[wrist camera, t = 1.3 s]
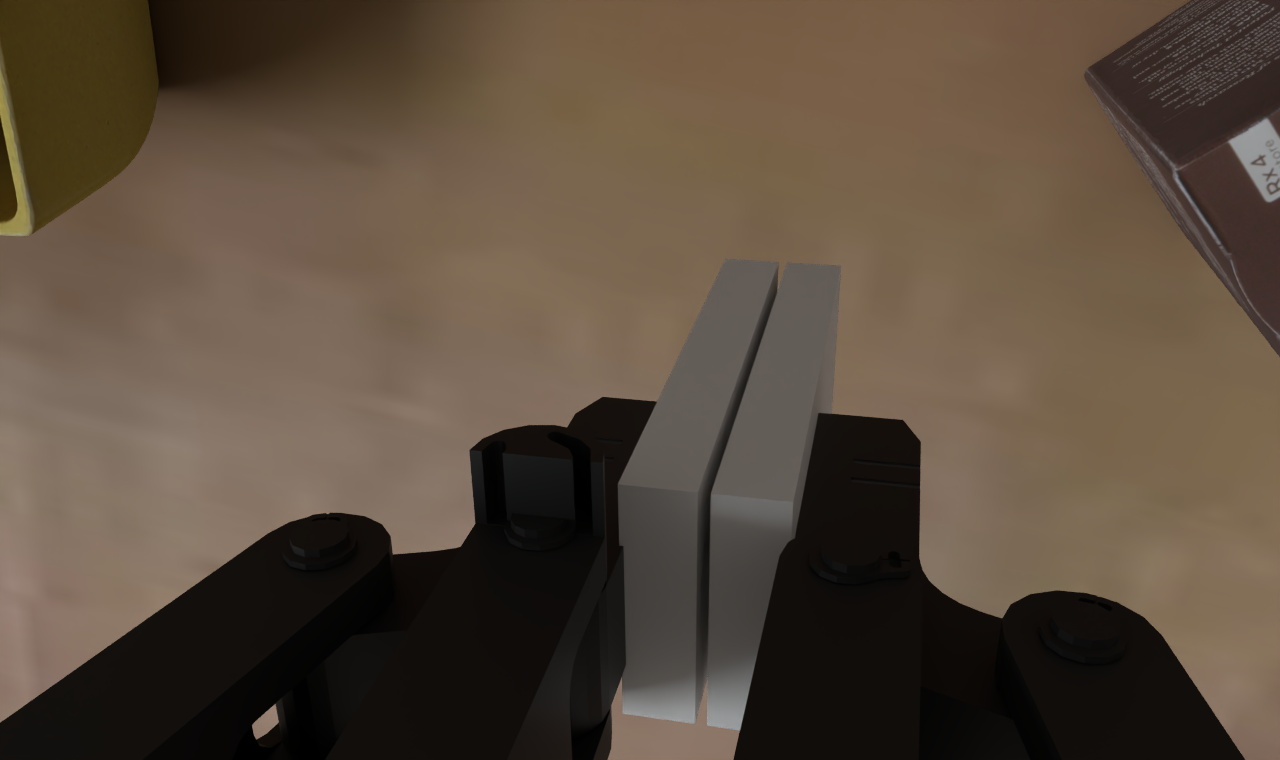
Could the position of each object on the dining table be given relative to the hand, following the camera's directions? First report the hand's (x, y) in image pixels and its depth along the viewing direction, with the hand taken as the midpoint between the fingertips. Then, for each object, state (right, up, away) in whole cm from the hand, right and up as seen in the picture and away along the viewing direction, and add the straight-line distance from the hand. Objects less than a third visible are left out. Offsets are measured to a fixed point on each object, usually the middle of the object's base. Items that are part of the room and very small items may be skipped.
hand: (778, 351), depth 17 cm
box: (+13, +7, +15) cm, 21 cm away
